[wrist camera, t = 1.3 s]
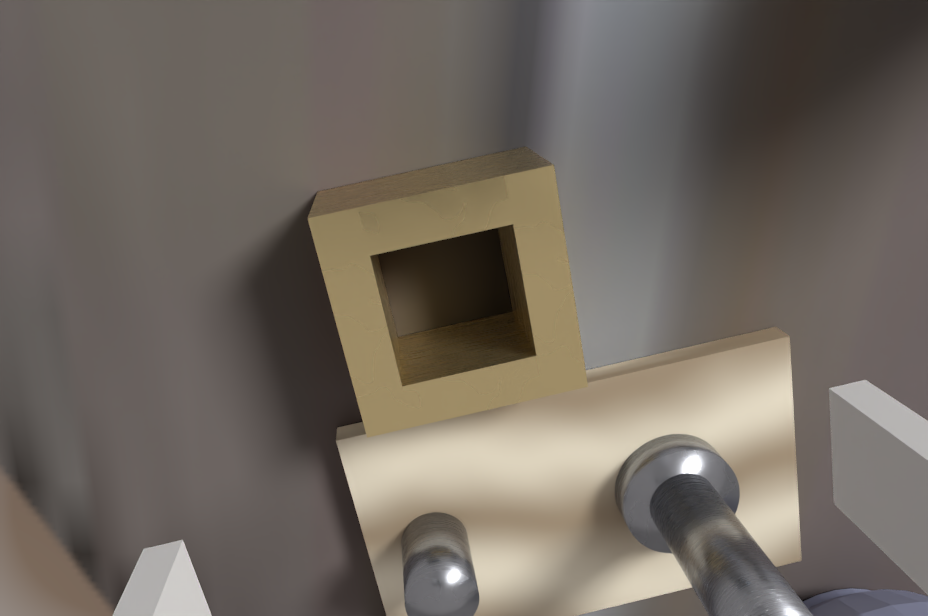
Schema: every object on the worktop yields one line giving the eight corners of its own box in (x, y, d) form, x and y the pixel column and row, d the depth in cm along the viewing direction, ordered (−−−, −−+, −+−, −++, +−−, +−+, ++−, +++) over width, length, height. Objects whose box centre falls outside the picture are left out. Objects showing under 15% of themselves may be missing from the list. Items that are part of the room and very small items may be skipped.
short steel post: (394, 521, 34) (397, 580, 30) (460, 505, 34) (471, 562, 30) (409, 575, 35) (413, 639, 31) (473, 560, 35) (485, 621, 31)
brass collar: (317, 191, 30) (307, 218, 25) (525, 146, 30) (554, 164, 26) (367, 381, 33) (367, 437, 28) (557, 338, 33) (587, 386, 28)
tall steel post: (607, 448, 34) (725, 649, 23) (720, 422, 34) (892, 608, 23) (622, 544, 36) (738, 775, 24) (729, 518, 36) (893, 736, 25)
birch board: (337, 427, 33) (335, 441, 32) (775, 326, 34) (789, 336, 33) (398, 640, 37) (398, 658, 36) (788, 545, 38) (801, 560, 37)
